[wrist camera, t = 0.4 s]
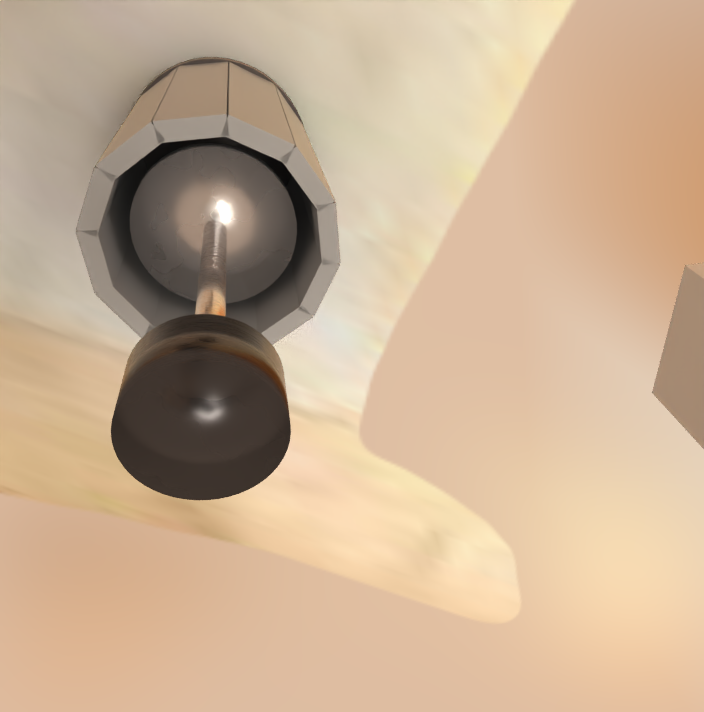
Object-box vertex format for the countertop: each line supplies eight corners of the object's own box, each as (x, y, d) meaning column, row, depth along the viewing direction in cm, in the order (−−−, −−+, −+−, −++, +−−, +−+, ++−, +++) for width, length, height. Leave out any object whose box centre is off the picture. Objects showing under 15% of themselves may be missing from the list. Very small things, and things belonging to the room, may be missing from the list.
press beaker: (107, 65, 36) (37, 126, 23) (297, 49, 37) (333, 98, 24) (159, 281, 43) (128, 419, 30) (318, 262, 44) (353, 387, 31)
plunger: (113, 151, 27) (4, 330, 14) (285, 134, 27) (333, 290, 15) (152, 305, 30) (95, 556, 18) (302, 286, 31) (352, 514, 18)
